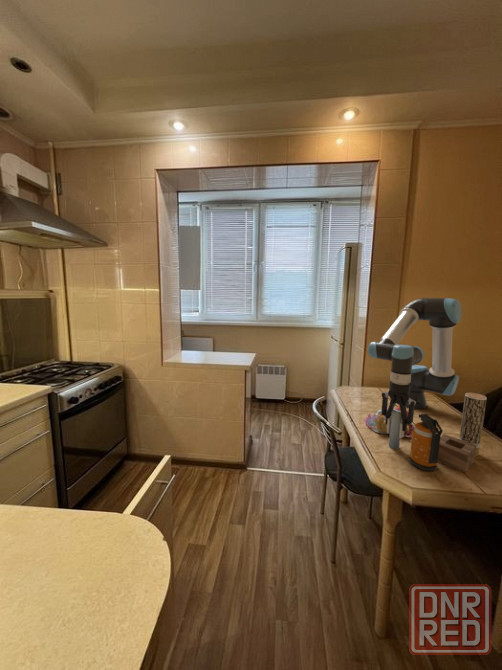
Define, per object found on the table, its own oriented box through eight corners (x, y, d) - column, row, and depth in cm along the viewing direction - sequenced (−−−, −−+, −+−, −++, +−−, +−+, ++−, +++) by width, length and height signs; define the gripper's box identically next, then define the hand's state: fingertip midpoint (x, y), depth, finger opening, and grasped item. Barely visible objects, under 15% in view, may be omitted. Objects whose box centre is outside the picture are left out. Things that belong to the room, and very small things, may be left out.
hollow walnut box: (442, 449, 119) (444, 433, 118) (474, 461, 110) (476, 445, 109) (432, 458, 112) (434, 442, 111) (465, 472, 104) (467, 455, 103)
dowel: (391, 443, 123) (394, 408, 121) (400, 447, 120) (404, 412, 118) (387, 446, 121) (390, 411, 118) (396, 450, 118) (399, 414, 115)
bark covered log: (458, 446, 121) (465, 391, 117) (478, 452, 117) (486, 395, 113) (457, 453, 116) (464, 395, 112) (478, 459, 112) (486, 400, 108)
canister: (426, 457, 113) (431, 410, 110) (446, 475, 102) (452, 424, 99) (404, 458, 112) (409, 411, 109) (422, 476, 102) (428, 424, 98)
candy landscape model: (425, 442, 125) (428, 422, 124) (369, 436, 130) (371, 417, 129) (407, 417, 149) (409, 401, 148) (360, 413, 154) (361, 397, 153)
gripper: (374, 378, 121) (370, 429, 124) (419, 390, 107) (413, 446, 111) (383, 375, 125) (379, 424, 129) (427, 386, 112) (421, 440, 115)
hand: (395, 434), depth 120 cm, fingers open, 4 cm apart
